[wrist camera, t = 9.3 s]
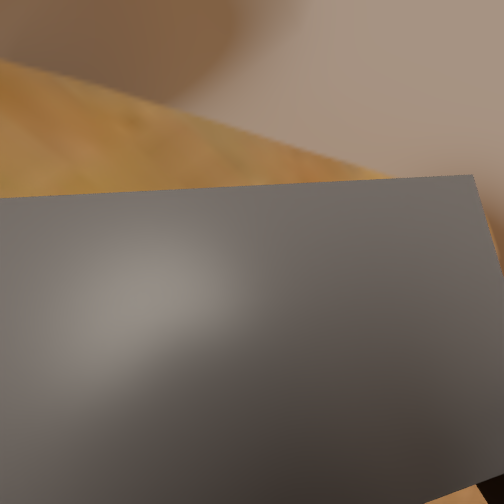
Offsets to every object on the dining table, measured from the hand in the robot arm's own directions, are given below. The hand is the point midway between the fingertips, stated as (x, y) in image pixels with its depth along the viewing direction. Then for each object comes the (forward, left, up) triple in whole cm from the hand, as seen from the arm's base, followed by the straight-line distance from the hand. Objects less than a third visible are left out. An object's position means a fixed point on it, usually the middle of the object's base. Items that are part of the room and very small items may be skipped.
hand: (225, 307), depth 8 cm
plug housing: (0, 0, -7) cm, 7 cm away
